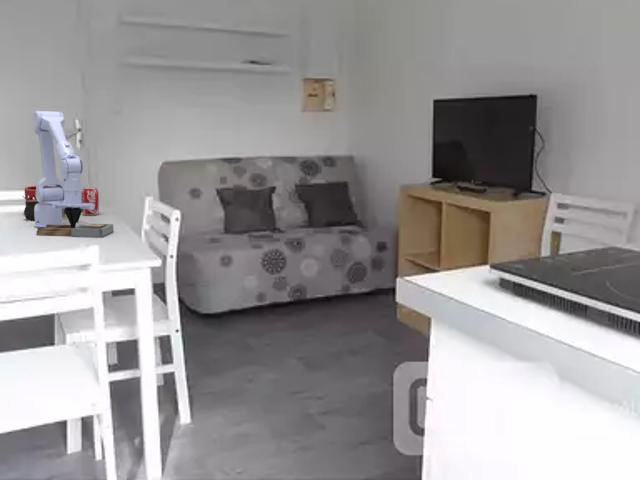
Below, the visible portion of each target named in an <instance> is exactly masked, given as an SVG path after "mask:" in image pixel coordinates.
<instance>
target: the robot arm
mask: <svg viewBox="0 0 640 480" xmlns="http://www.w3.org/2000/svg"><path fill="white" fill-rule="evenodd" d="M32 124H33V125H32V127H33V131H34V132H33V133H34V134H36V135H38V140H39V141H38V142H39V150H40V161H41V169H42V178H41V179H40V180H39V181H38V182H37V183H36V184H35V186H36V199H37V201H38V202H39V203H38V204H36V205H35V208H34V216H35V220H34V226H33V227H34V228H39V227H40V228H46V225H47V224H52V225H67V223H65V222H64V223H63V219H62V208H65V210H64V213H65V214H66V216H67V218H68V219H67V220H68V222H69V225H71V228H75V226H76V223H77V222H79V221H80V217H81V215H82V214H83V213H82V211H83V209H90V210H92V209H94V204H89V203H82V199H81V192H82V184H81V174H82V173H83V170H84V164H83V161H82V158H81V157H79V156H78V155H76V153H75V150H74V148H73V146H72V143H71V142H69V141H67V138H66V135H65V131H64V126H65V115H64V114H63V112H62V111H47V110H42V111H41V110H35V111H34V113H33V115H32ZM54 142H55V144H56V146H55V147H54ZM55 151H56V154H57V156H58V159H59V162H60V163H59V168H60V172H61V179H62V180H63V181H62V180H60V178H58V176H57V166H56V158H55V157H56V156H55ZM43 186H51V187H43ZM64 200H65V203H63V201H64Z"/></svg>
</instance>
